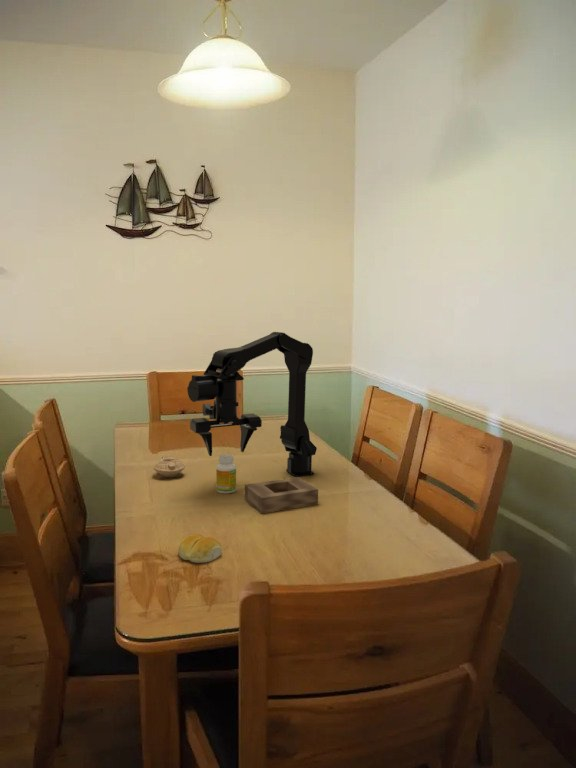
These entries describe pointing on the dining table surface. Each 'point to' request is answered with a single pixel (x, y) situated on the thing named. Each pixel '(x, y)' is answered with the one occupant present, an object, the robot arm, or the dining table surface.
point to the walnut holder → (281, 495)
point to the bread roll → (199, 548)
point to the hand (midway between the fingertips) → (226, 453)
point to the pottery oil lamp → (169, 466)
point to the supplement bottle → (226, 474)
